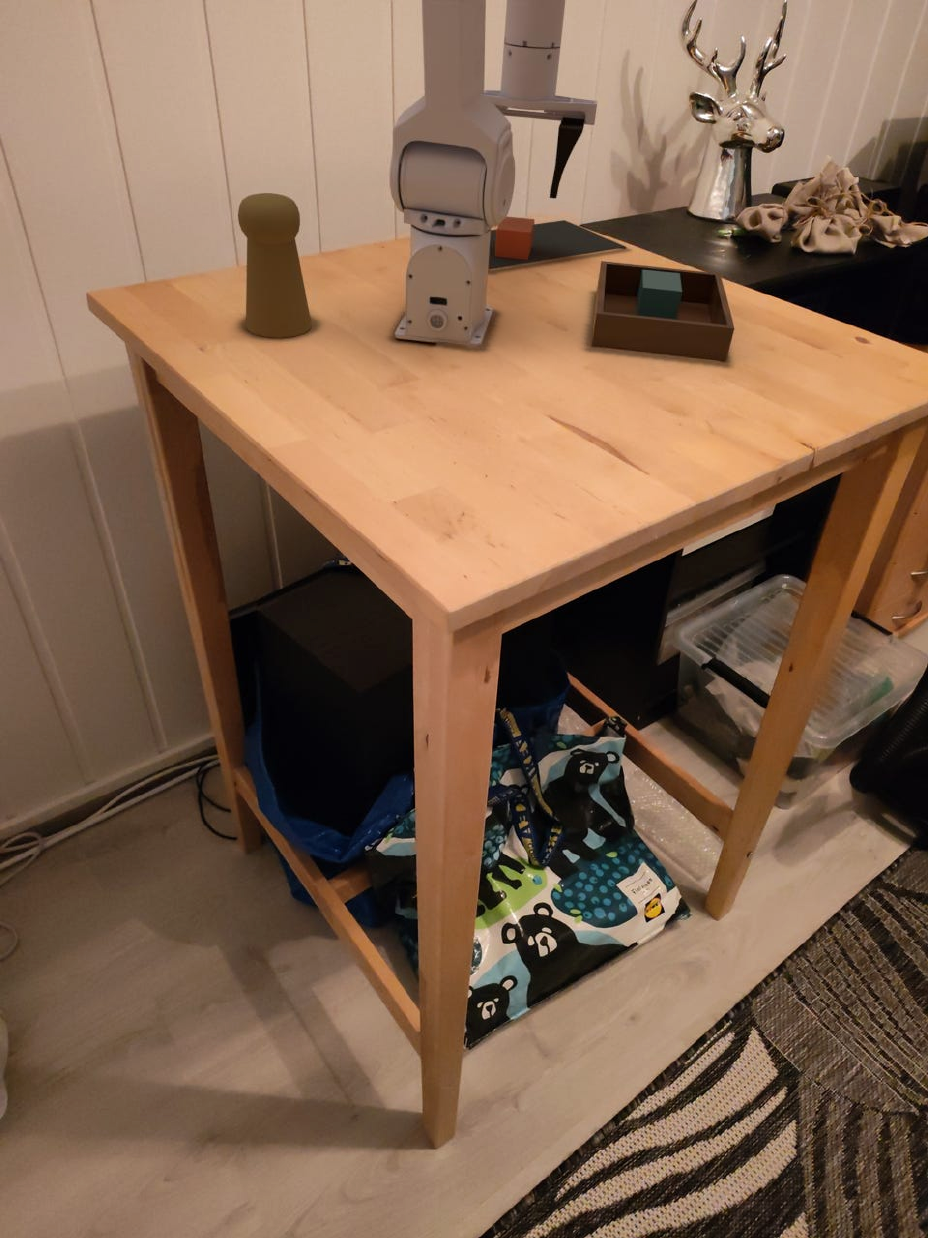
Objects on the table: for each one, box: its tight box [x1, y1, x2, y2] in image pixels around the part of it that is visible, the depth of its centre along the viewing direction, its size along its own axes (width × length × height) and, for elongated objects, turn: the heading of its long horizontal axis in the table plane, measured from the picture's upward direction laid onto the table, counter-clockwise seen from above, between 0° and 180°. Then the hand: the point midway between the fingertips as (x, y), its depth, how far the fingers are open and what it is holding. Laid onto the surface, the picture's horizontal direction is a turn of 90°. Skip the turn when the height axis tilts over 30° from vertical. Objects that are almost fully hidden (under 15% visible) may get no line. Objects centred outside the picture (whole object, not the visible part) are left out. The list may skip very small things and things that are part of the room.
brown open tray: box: [590, 260, 735, 362], centre depth 81 cm, size 15×12×3 cm
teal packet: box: [637, 270, 682, 320], centre depth 83 cm, size 6×4×3 cm
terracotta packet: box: [495, 215, 535, 260], centre depth 96 cm, size 6×4×3 cm
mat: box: [488, 219, 627, 270], centre depth 100 cm, size 12×20×1 cm, turn 123°
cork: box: [237, 192, 313, 339], centre depth 74 cm, size 6×6×11 cm
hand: (518, 192), depth 92 cm, fingers open, 7 cm apart
